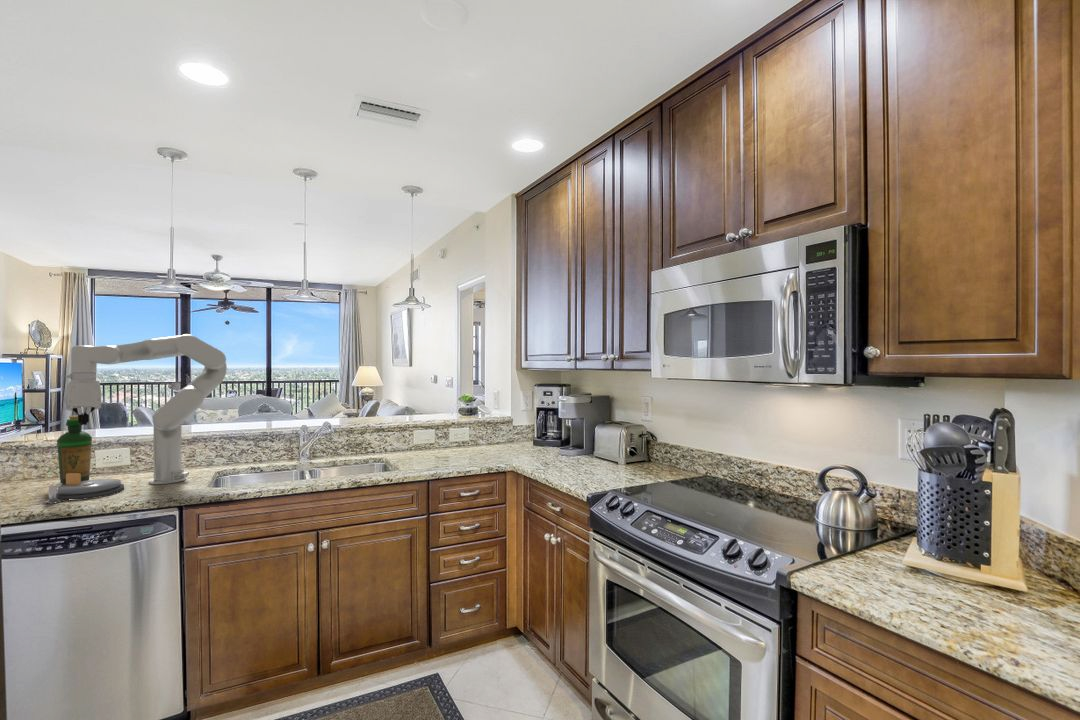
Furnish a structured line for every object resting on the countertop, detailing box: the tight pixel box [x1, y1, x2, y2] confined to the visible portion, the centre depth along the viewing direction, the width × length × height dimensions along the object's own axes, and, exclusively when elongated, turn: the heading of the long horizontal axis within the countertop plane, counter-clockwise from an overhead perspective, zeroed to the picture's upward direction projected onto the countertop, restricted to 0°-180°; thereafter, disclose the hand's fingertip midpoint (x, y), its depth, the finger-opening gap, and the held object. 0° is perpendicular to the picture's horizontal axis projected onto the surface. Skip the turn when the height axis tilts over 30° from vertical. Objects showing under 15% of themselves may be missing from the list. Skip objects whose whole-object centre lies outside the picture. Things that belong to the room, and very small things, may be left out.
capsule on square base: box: [42, 482, 64, 503], centre depth 186 cm, size 5×4×6 cm
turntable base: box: [58, 483, 125, 500], centre depth 198 cm, size 21×21×2 cm
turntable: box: [58, 473, 122, 495], centre depth 198 cm, size 19×19×6 cm
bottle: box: [56, 415, 93, 485], centre depth 211 cm, size 11×11×28 cm
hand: (83, 424), depth 203 cm, fingers closed
